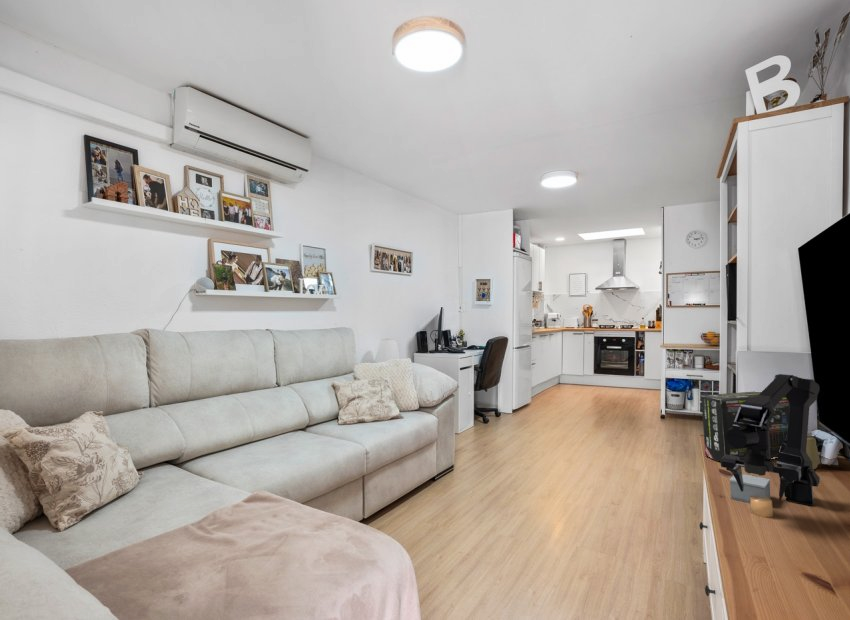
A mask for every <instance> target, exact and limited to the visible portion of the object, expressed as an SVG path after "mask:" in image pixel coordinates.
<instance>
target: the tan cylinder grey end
mask: <svg viewBox="0 0 850 620" xmlns="http://www.w3.org/2000/svg"><path fill="white" fill-rule="evenodd" d="M750 502H751V503H750V512H751V514H753V515H755V516H758V517H762V518H769V519H770V518H773V516H774V512H773V510H774V509H773V500H772V499H771V498H770V499H769V498H767V497H764V496H758V495H752V496H750Z"/></svg>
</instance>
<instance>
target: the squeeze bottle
mask: <svg viewBox="0 0 850 620" xmlns="http://www.w3.org/2000/svg"><path fill="white" fill-rule="evenodd" d="M816 444H817V439H816V438H815V437H814V436H813V432H812V431H811V430H808V433H807V446H806V453H807V454H808V456H809V458H810V459H811V461H812V468H813V469H816V468H818V466H819V463H820V456H819V450H818V444H817V445H816ZM816 470H817V469H816Z"/></svg>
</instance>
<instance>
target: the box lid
mask: <svg viewBox="0 0 850 620" xmlns="http://www.w3.org/2000/svg"><path fill="white" fill-rule="evenodd" d="M742 478H743V484H745V485H750V486H755V487H760V488H764V489H765V488H766V486H767V485H768V483H769V482H771V479H769V478H765V477H759V476H754V475H750V474H745V473H744V474H743V473H742ZM730 482H735V483H737V481H736V479H735V477H734V475H733V474H732V476H731V477H730V478H729V483H730Z"/></svg>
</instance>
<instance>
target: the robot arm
mask: <svg viewBox="0 0 850 620" xmlns="http://www.w3.org/2000/svg"><path fill="white" fill-rule="evenodd" d="M820 389H821V388H820V385H819V383H817V382H816V381H815V380H814V379H813V378H812V379H811V378H803V377H800V376H799V377H798V376H797V375H793V374H787V373H783V374H782V373H779V374H775V376H774V379H773V380H772V381H771V382H770V383H768V385H767V386H766V387H765V388H764V389H763V390H761V391H762V392H761V393H760V394H759V395H758V396H756V397H752V398H749V399H747V400H745V401H744V402H743V403H742V404H741V405H740V407H739V410H738V412H737V415H736V417H735V420H734V425H733V429H730V430H729V431H728V432H727V434H726V438H727V441H728V443H729V444H730V445H731V446H733V447H734V448H737V449H741V448H745V447H746V455H745V459H744V461H742V460H740V459H739V457H738V456H732V455H725V456H723V457H722V458H721V462H720V467H721V468H725V469H726V471H728V472H730V473H731V474H732V476H733V475H734V477H735V479H736V481H737V483H738V485H739V487H740V490H741V492H743V490H744V485H743V478H742V474H743V471H742V468H744V472H745V473H747V474H754V475H758V476H765V475H766V473H767V472H768V473H769V472H770V473H775V474H778V477H779V489H778V490H779V492H778V498H779V501H781V500H782V499H783V496H784V497H785V501H787V502H791V503H797V504H801V505H805V506H810V507H813V506H814V505H815V498H814V487H819V484H820V480H821V479H820V476H819V475H818V474H817V472H816V471H815V470H813V468H812V461H811V459H810V458H809V456H808V454H807V453H806V446H807V433H808V431H809V417H810V407H811V406H812V405H813V404H814V403H815V402H816V401H817V399H818V395H819V393H820ZM784 396H785V397H786V398H787V400H788V402H789V403H790V407H789V420H788V432H787V444H786V448H785V449H784V450H783V451H782V452H779V453H778V459H776V460H777V461H776V465H775V462H774V459H771V456H770V441H769V428H772V425H771V424H769V423H770V421H771V420H772V418H773V416H774V415H775V412H774V407H775V406H776V405H777V404H778V403H779V402H780V401H781V400H782V398H783V397H784ZM743 418H744V419H746V420H743ZM749 420H751V421H749ZM754 421H757V422H754Z"/></svg>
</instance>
